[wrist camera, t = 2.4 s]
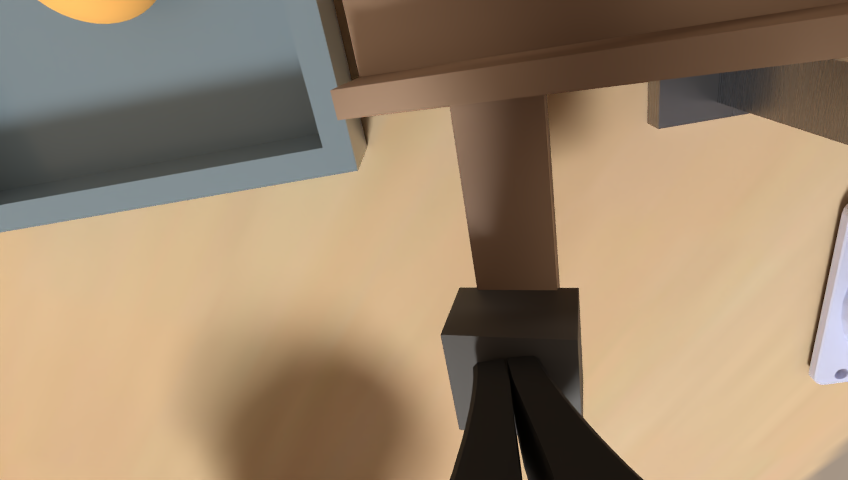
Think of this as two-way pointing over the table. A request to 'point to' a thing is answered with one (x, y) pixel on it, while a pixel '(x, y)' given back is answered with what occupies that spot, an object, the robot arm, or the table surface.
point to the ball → (100, 9)
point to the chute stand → (759, 97)
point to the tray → (167, 105)
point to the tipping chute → (545, 127)
